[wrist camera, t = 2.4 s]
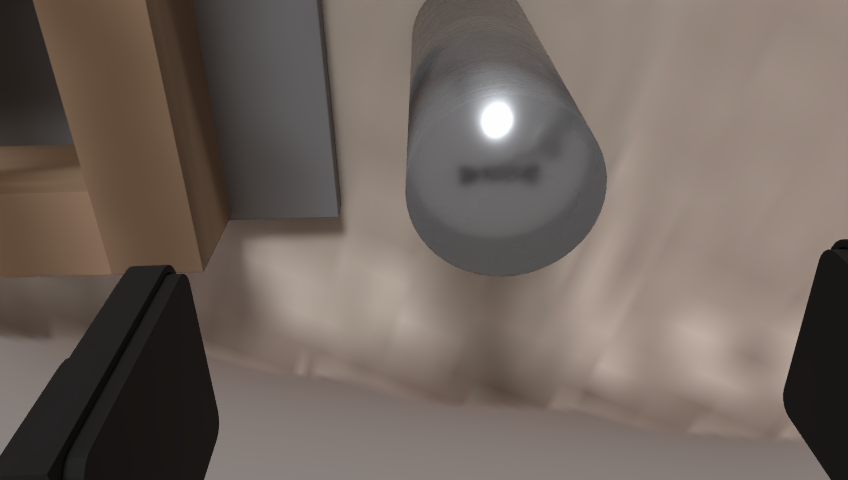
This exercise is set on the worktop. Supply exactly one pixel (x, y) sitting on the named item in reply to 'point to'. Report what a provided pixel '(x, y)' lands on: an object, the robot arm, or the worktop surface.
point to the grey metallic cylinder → (495, 143)
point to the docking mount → (157, 129)
